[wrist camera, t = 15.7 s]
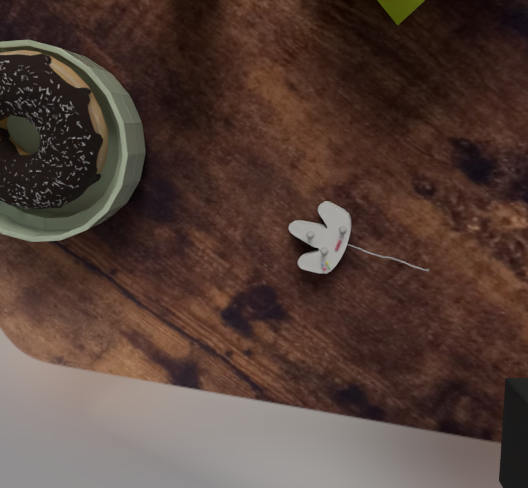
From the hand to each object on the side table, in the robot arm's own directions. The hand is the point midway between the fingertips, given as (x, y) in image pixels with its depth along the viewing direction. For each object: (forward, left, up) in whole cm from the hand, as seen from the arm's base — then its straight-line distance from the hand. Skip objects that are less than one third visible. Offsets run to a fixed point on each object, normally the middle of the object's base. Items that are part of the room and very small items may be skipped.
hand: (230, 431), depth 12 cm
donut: (-8, -16, -26) cm, 32 cm away
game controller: (+3, +7, -29) cm, 30 cm away
